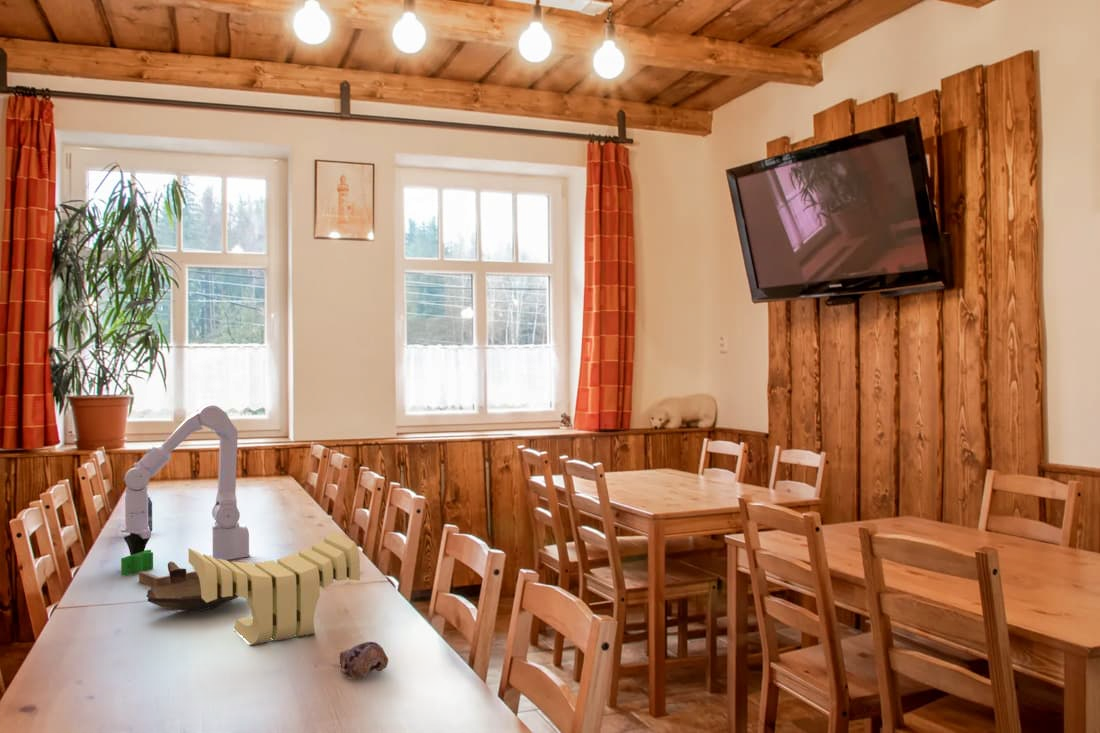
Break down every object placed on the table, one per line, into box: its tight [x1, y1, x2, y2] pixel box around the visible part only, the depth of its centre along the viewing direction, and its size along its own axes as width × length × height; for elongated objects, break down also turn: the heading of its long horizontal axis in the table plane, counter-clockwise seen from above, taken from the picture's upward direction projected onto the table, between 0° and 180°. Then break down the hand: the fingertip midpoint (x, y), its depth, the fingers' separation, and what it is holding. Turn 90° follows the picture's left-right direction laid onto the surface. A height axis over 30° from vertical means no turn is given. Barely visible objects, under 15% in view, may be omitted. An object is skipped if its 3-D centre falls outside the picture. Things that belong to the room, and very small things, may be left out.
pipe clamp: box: [120, 549, 154, 576], centre depth 237 cm, size 11×4×5 cm, turn 171°
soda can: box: [148, 496, 153, 533], centre depth 288 cm, size 7×7×12 cm
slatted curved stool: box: [188, 531, 361, 646], centre depth 179 cm, size 30×16×18 cm, turn 124°
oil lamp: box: [145, 561, 239, 612], centre depth 202 cm, size 22×30×8 cm
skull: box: [339, 641, 389, 680], centre depth 156 cm, size 12×8×6 cm, turn 32°
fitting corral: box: [138, 570, 199, 588], centre depth 227 cm, size 18×11×2 cm, turn 135°
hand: (137, 561), depth 241 cm, fingers closed
